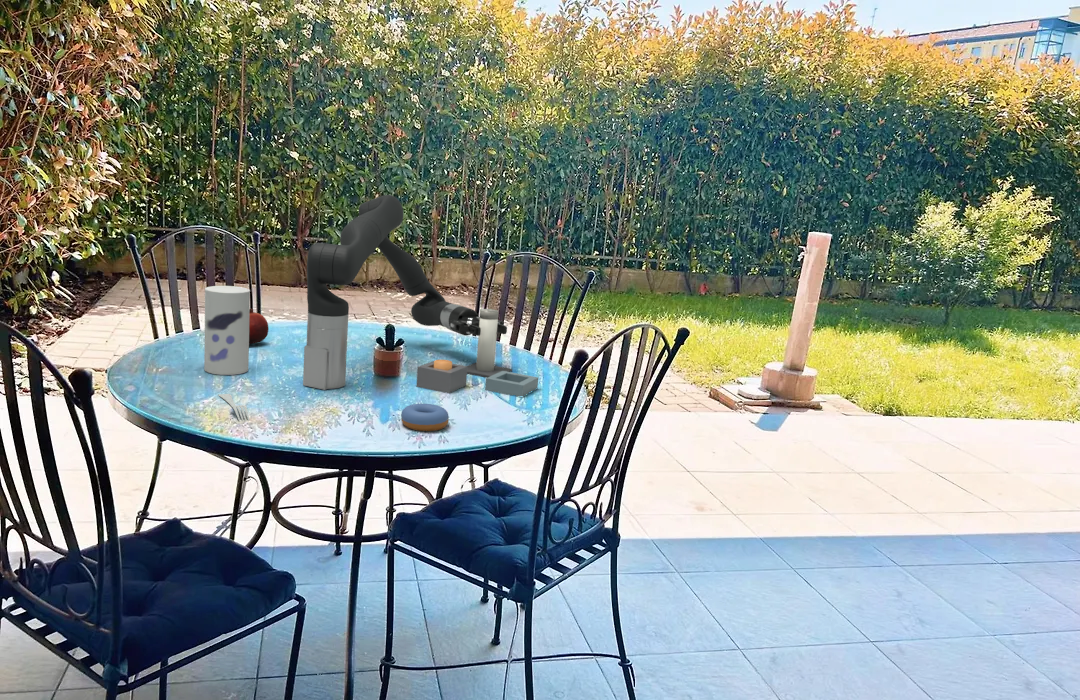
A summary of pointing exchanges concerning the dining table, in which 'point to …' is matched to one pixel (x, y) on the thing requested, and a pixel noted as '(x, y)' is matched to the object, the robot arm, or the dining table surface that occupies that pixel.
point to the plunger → (443, 364)
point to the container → (226, 330)
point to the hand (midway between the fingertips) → (492, 331)
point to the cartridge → (487, 340)
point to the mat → (473, 371)
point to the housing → (511, 383)
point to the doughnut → (424, 417)
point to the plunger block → (441, 377)
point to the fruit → (257, 327)
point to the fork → (230, 401)
